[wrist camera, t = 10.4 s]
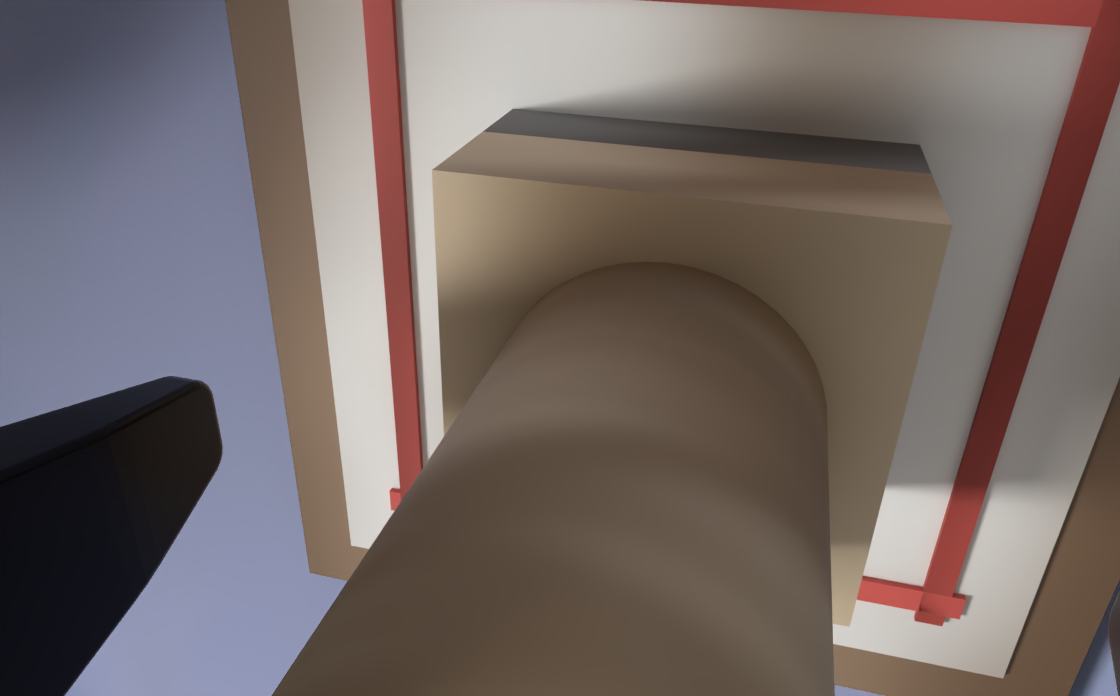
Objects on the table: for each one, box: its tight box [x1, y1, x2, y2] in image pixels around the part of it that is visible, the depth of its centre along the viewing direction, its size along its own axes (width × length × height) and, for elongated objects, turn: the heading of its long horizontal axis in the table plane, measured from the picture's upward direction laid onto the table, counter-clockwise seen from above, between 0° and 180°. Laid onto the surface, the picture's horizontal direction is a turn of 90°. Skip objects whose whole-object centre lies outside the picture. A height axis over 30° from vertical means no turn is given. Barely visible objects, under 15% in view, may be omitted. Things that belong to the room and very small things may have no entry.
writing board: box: [225, 0, 1120, 696], centre depth 12 cm, size 13×13×1 cm
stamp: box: [272, 109, 952, 696], centre depth 8 cm, size 5×5×9 cm
